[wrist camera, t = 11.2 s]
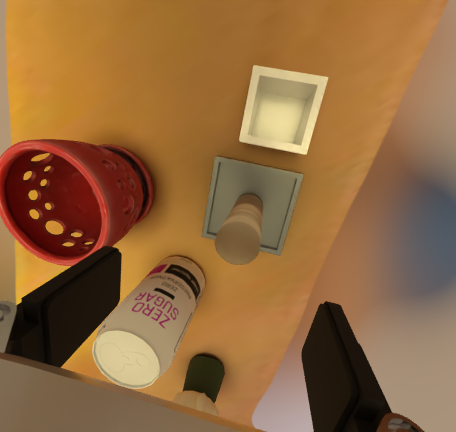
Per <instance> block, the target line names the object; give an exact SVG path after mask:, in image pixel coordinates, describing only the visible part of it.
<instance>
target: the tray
mask: <svg viewBox="0 0 456 432" xmlns="http://www.w3.org/2000/svg"><path fill="white" fill-rule="evenodd" d="M303 176H304V174H302V173H298V172H293V171H288V170H284V169H279V168H274V167H269V166H264V165H260V164H255V163H250V162H245V161H240V160H235V159H231V158H226V157H221V156H215V161H214V167H213V173H212V179H211V185H210V190H209V196H208V202H207V208H206V214H205V220H204V226H203V232H202V237H206V238H210V239H214V240H215V238H216V235H217V233H218V231H219V230H220V228H221V226H222V225H223V223H224V221H225V220H226V218H227V216H228V215H229V213H230V211H231V210H232V208H233V206H234V205H235V203H236V201H237V200H238V198H239V197H240V196H241V195H242V194H245V193H254V194H256V195H258V196H259V197H260V198H261V200H262V202H263V216H262V230H261V244H260V250H259V251H263V252H267V253H271V254H275V255H279V256H281V252H282V249H283V245H284V242H285V238H286V235H287V231H288V228H289V224H290V221H291V217H292V214H293V211H294V207H295V204H296V200H297V197H298V193H299V190H300V186H301V183H302V179H303Z"/></svg>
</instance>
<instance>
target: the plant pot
mask: <svg viewBox="0 0 456 432" xmlns="http://www.w3.org/2000/svg"><path fill="white" fill-rule="evenodd" d="M44 153H51V154H50V155H49V156H48V157H46V158H45V159H43V160H40V161H31V159H32V158H33V157H35V156H37V155H40V154H44ZM47 166H51V168H50V169H49V170H48V171H46V172H44V169H45V168H46V167H47ZM27 171H32V175H31V177H30V178H29V179H28V180H23V177H24V174H25V173H26V172H27ZM43 179H46V180H47V184H46V185H45V186H41V185H40V182H41V180H43ZM31 190H36V191H37V193H38V197H37V199H36V200H31V199H30V198H29V196H28V194H29V192H30V191H31ZM152 200H153V186H152V182H151V178H150V176H149V173H148V171H147V170H146V168H145V166H144V165H143V164H142V162H141V161H140V160H139V159H138V158H137V157H136V156H135V155H134V154H132V153H131V152H129V151H128V150H126V149H124V148H122V147H119V146H115V145H98V146H96V145H93V144H88V143H84V142H78V141H69V140H55V139H42V140H27V141H22V142H19V143H17V144H14V145H13V146H11V147H10V148H8V149H7V150H6V151H5V152H4V153H3V154H2V156H1V157H0V216H1V218H2V220H3V222H4V224H5V225H6V227H7V228H8V229H9V231H10V233H11V234H12V235H13V236H14V237H15V239H16V240H17V241H18V242H19V243H20V244H21V245H22V246H23V247H25V248H26V249H27V250H28V251H30V252H31V253H33V254H34V255H36V256H37V257H39V258H41V259H43V260H45V261H48V262H51V263H54V264H58V265H64V266H73V265H75V264H76V263H78V262H79V261H81V260H83V259H84V258H86V257H87V256H89V255H90V254H92V253H94V252H95V251H97V250H98V249H100V248H102V247H103V246H110V247H112V246H113V245H114V244H116V243H117V242H118V241H119V240H121V239H122V238H123V237H124V236H125V235H126V234H127V233H128V232H129V230H130V229H131V228H132V227H133V225H135V224H137V223H138V222H140V221H141V220H142V219H143V218H144V217H145V216H146V215H147V213H148V211H149V209H150V207H151V205H152ZM45 203H50V204H51V207H52V208H51V210H47V209H46V208H45ZM31 209H35V210H36V211H37V212H38V213H39V218H38V219H33V218H32V217H31V216H30V214H29V211H30V210H31ZM52 220H53V221H57V222H58V223H60V224H61V225H62V226H63V229H64V231H63V233H62V234H59V235H54V234H51V233H49V232H48V231H47V230H46V227H45V225H46V223H47V222H48V221H52ZM74 232H78V233H81V234H82V236H81V237H73V236H71V234H72V233H74ZM66 242H71V243H74V244H75V245H73V246H70V247H67V246H63V245H62V244H64V243H66ZM86 242H94V243H92V244H89V245H86V244H85V243H86Z"/></svg>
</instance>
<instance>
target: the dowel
mask: <svg viewBox="0 0 456 432" xmlns="http://www.w3.org/2000/svg"><path fill="white" fill-rule="evenodd" d="M262 216H263V202H262V200H261V198H260V197H259V196H258V195H256V194H254V193H245V194H242V195H241V196H240V197H239V198H238V200H237V201H236V203H235V205H234V206H233V208H232V210H231V211H230V213H229V215H228V216H227V218H226V220H225V221H224V223H223V225H222V226H221V228H220V230H219V231H218V233H217V235H216V238H215V246H216V250H217V252H218V254H219V255H220V256H221V257H222V258H223V259H224V260H225V261H227V262H229V263H231V264H235V265H242V264H247V263H249V262H251V261H252V260H254V259H255V258H256V256H257V255H258V253H259V250H260V244H261V230H262Z"/></svg>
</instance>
